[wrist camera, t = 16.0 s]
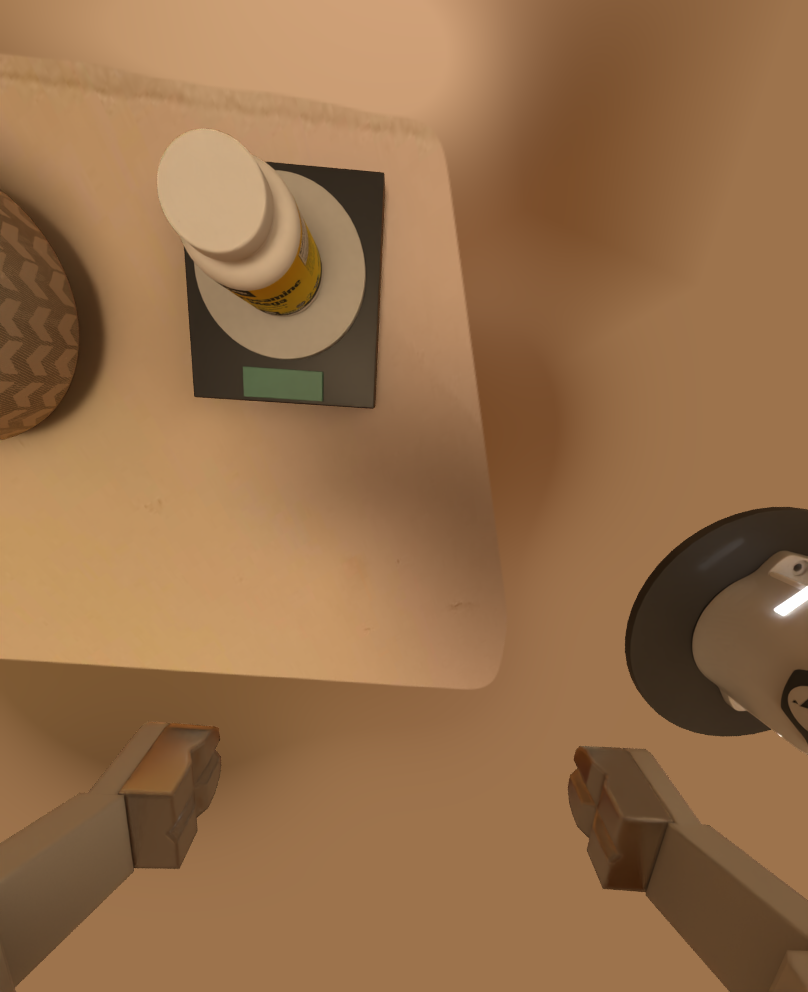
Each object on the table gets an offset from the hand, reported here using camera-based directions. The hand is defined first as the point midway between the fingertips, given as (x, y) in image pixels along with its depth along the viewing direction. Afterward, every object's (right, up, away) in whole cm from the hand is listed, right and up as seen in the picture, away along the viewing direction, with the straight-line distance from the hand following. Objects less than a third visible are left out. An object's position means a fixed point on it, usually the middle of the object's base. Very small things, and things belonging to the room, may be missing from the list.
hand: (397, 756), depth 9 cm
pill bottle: (-9, +22, +19) cm, 30 cm away
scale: (-9, +22, +22) cm, 32 cm away
